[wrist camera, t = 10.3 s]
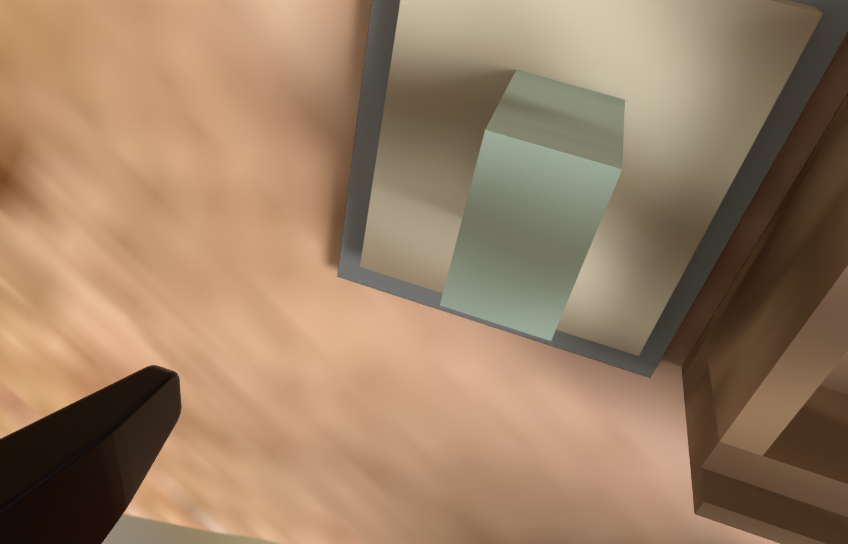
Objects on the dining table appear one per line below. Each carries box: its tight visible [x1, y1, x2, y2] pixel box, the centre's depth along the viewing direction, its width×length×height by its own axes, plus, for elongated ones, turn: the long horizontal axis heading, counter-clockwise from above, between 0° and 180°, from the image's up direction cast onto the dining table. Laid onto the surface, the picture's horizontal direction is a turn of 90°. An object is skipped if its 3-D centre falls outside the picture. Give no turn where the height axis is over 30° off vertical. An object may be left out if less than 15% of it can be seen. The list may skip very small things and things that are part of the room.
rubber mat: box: [337, 0, 848, 378], centre depth 19 cm, size 14×12×1 cm
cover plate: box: [360, 0, 823, 356], centre depth 17 cm, size 11×10×5 cm
